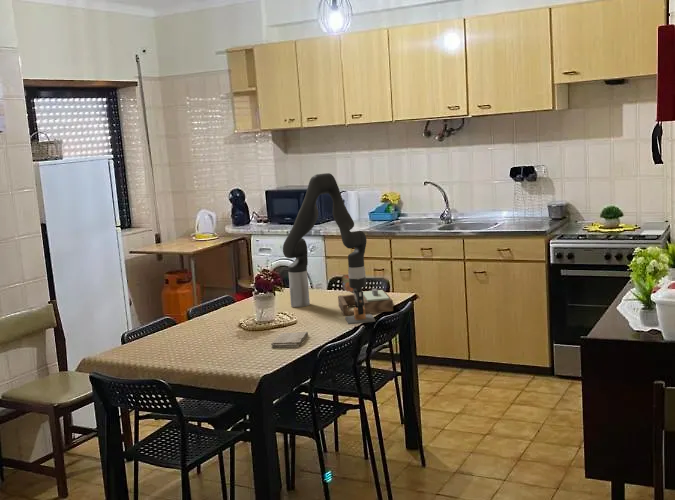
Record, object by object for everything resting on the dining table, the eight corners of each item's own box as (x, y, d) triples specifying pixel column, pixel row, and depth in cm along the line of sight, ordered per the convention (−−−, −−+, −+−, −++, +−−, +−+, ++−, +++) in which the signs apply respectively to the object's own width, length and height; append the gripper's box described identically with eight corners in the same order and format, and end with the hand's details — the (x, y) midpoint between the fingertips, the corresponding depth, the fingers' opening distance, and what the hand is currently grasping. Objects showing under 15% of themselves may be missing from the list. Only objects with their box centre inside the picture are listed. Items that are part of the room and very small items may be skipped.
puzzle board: (343, 315, 352) (343, 305, 351) (338, 305, 373) (337, 295, 372) (393, 310, 354) (392, 300, 353) (385, 301, 375) (384, 291, 374)
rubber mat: (348, 324, 336) (348, 322, 336) (345, 317, 347) (345, 316, 347) (375, 321, 337) (375, 320, 337) (371, 315, 349) (371, 314, 349)
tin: (341, 288, 413) (340, 273, 411) (346, 288, 414) (345, 272, 413) (353, 293, 399) (352, 277, 398) (359, 292, 400) (358, 276, 399)
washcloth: (270, 349, 306) (269, 342, 306) (281, 337, 323) (280, 330, 323) (299, 349, 304) (298, 341, 303) (308, 337, 321) (308, 329, 321)
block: (355, 320, 340) (355, 310, 339) (354, 317, 344) (353, 308, 343) (365, 319, 340) (365, 309, 339) (364, 316, 345) (363, 307, 344)
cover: (367, 301, 353) (367, 294, 353) (361, 293, 372) (361, 286, 371) (389, 299, 354) (388, 292, 354) (382, 291, 373) (381, 285, 372)
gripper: (346, 274, 346) (349, 309, 348) (350, 280, 332) (353, 316, 334) (363, 272, 347) (365, 307, 349) (367, 278, 333) (370, 315, 335)
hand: (359, 312), depth 342 cm, fingers open, 8 cm apart
